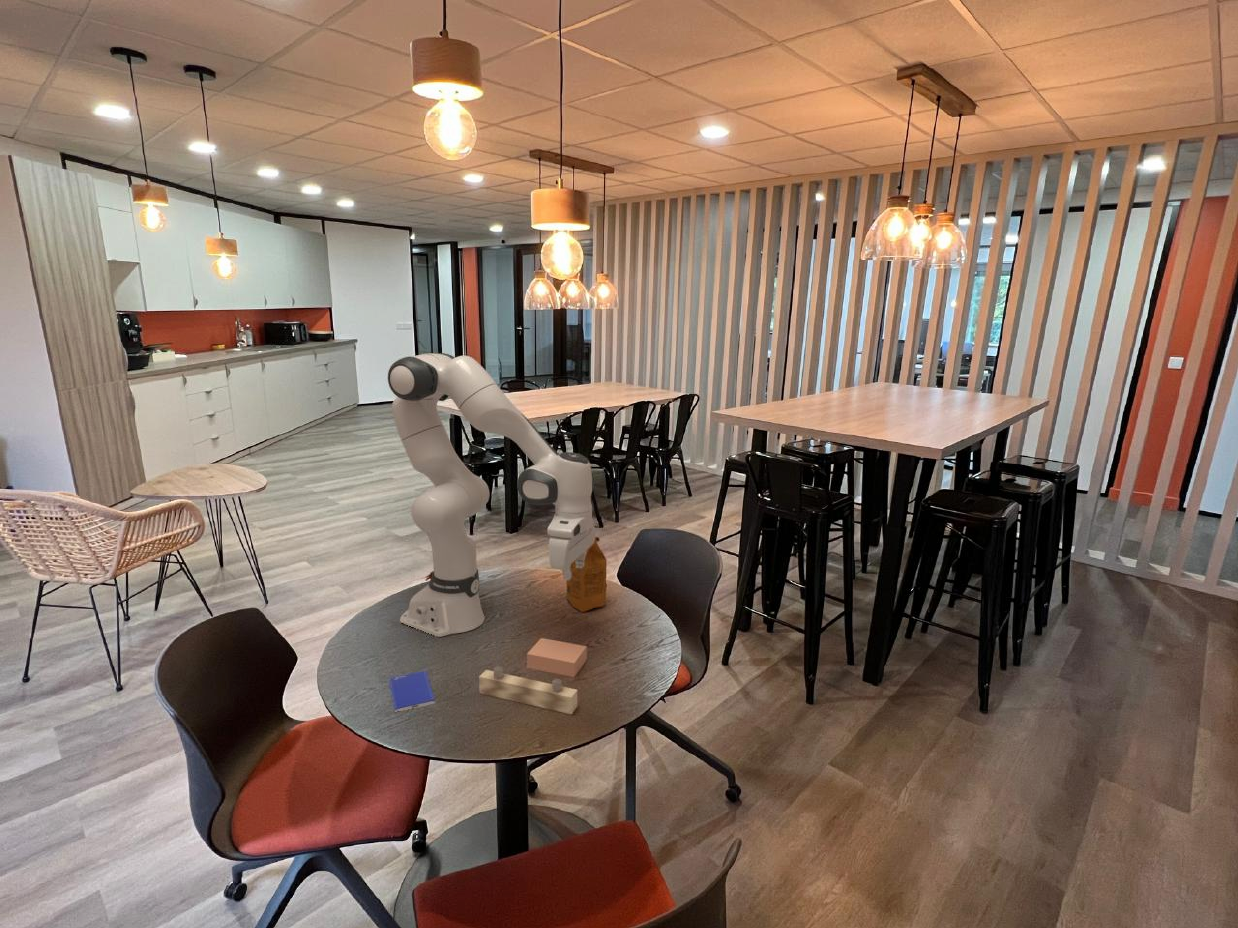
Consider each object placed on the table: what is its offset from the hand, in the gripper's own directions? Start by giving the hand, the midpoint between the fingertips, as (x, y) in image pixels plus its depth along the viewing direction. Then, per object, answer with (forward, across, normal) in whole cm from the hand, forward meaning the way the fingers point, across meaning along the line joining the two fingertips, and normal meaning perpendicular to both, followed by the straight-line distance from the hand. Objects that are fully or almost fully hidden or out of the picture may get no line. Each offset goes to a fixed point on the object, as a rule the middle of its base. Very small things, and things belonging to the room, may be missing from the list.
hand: (573, 573), depth 156 cm
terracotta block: (+20, +10, 0) cm, 22 cm away
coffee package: (+20, -23, -6) cm, 31 cm away
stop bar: (+19, +26, 0) cm, 32 cm away
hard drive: (+20, +32, -25) cm, 45 cm away
